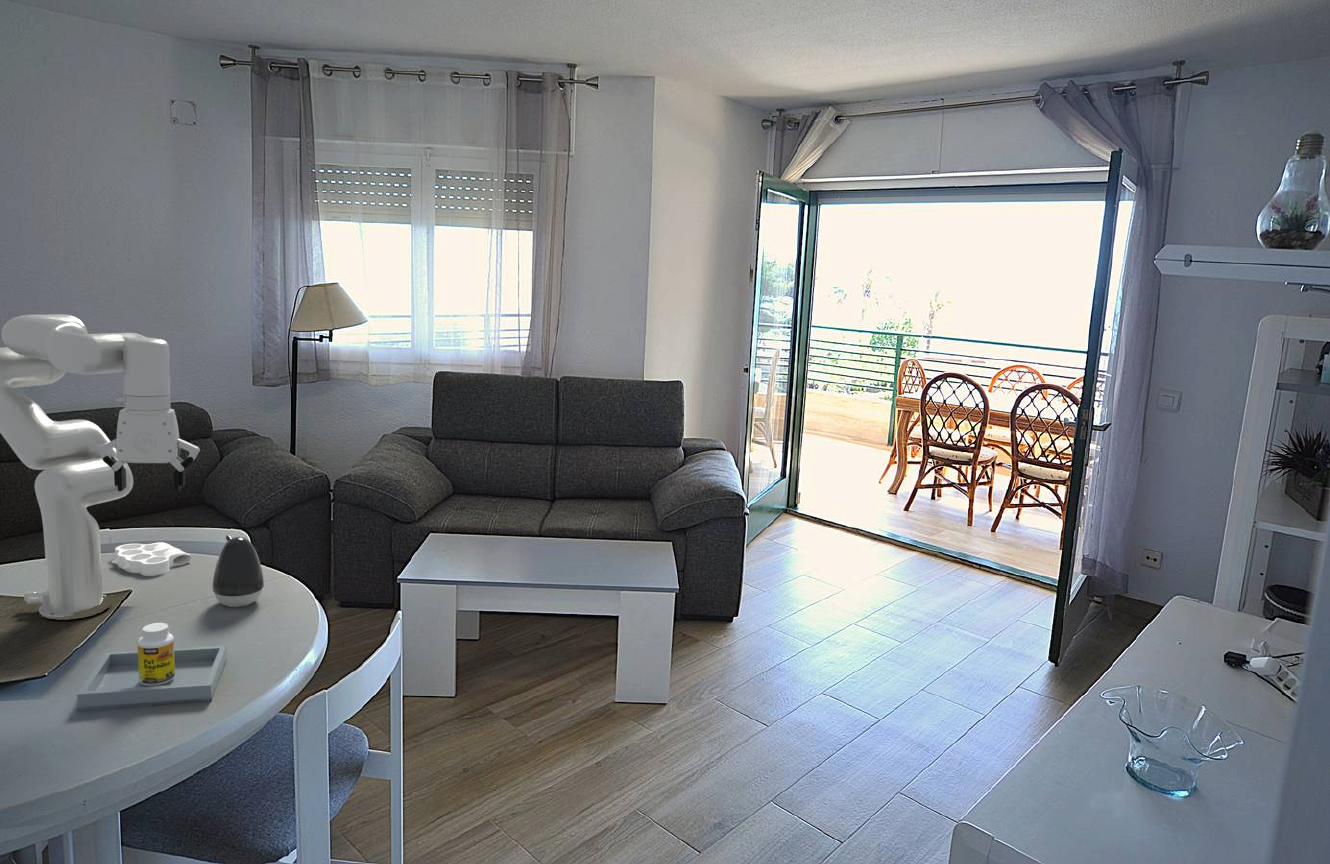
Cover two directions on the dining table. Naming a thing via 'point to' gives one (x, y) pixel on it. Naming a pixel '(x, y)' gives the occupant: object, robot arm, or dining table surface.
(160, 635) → the supplement bottle
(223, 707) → the dining table surface
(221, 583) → the black egg-shaped figure
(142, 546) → the white multi-hole holder
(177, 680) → the tray
